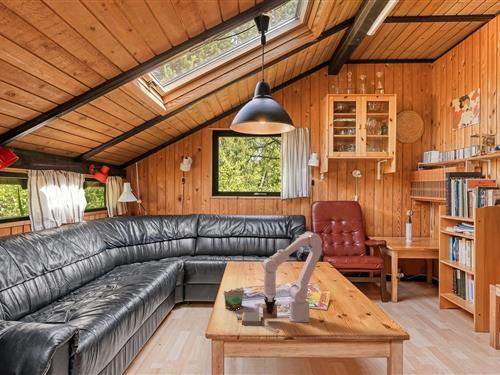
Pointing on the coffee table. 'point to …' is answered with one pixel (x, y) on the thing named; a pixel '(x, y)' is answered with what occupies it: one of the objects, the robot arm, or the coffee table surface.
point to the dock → (251, 318)
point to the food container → (233, 299)
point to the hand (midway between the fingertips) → (269, 311)
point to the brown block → (266, 315)
